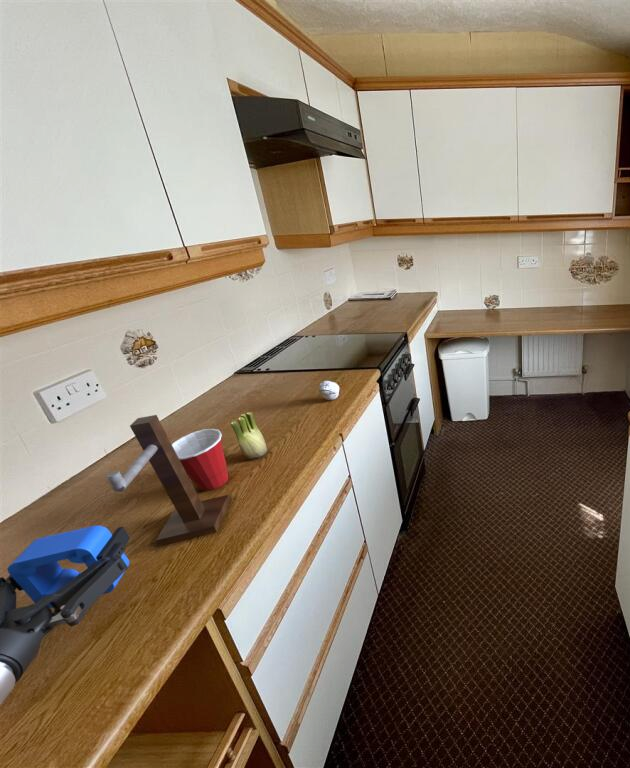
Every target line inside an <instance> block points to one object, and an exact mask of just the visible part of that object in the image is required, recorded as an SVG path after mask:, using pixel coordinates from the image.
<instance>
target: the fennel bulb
mask: <svg viewBox="0 0 630 768" xmlns="http://www.w3.org/2000/svg"><path fill="white" fill-rule="evenodd" d="M237 421H238V422H237ZM237 421H231V423H230V425H231V428H232V429H233V431H234V435H235V436H236V439H237V442H238V445H239V448H240V451H241V452H242V454H243V456H244V457H245V458H246V459H247V460H254V459H258V458H261V457H263V456H264V455H266V453H267V452H268V448H267V447H268V446H267V443H266V440H265V438H264V436H263V434H262V432H261V431H260V429H259V427H258V426H257V424H256V421H255V418H254V414H253V412H252V411H249V412H246V413H241V414H240V417H238V419H237Z"/></svg>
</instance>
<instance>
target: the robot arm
mask: <svg viewBox="0 0 630 768" xmlns="http://www.w3.org/2000/svg"><path fill="white" fill-rule="evenodd" d="M130 540H131V536H130V535H129V534H128V532H127V531H126V528H125V526H119V527H117V528H116V529H115V531H114V532H113V533H112V536H111V538H110V539H109V540H108V542H107V543H106V544H105V546H104V547H103V548H102V550H101V551H100V553H99V554H98V555H97V557H96V558H97V559H98V561H97V562H95V563H94V564H93V565H91V566H90V567H89V568H88V567H87V568H86V569H84V570H83V571H81V572H82V573H81V572H80V573H81V574H79V575H78V576H77V577H75V578H74V579H73V580H71V581H70V582H69V583H67V584H66V585H65V586H63V587H62V588H61V589H59V590H58V591H57V592H55V593H53V594H48V595H46V596H45V597H43V598H42V599H41V600H39V601H38V602H37V603H33V604H29V605H27V606H22V607H17V591H16V590H18V591H19V592H20V591H24V590H23V589H22V588H21V587H20V585H19V584H18V583H17V582H16V581H15V580H14V579H13V577H12V576H11V575H10V574H8V576H7V577H6V578H5V577H3V576H1V577H0V706H1V705H3V703H4V701H5V700H6V698H7V697H8V696H9V694H10V693H11V691H12V690H13V688H15V685H16V684H17V682H18V681H19V680H21V678H22V677H23V675H24V674H25V672H26V671H27V669H28V668H29V667H30V665H32V663H33V661H34V660H35V659H36V657H37V655H38V653H39V649H40V646H41V643H42V640H43V639H44V637H45V636H46V635H48V634H49V633H50V632H51V631H53V630H54V628H55V627H58V626H61V625H64V624H67V625H68V626H69V627H75V626H77V625H78V624H79V623H80V622H81V621H82V620H83V618H84V616H85V614H86V613H87V612H88V610H89V609H90V608H91V607H92V606H93V604H95V603H96V601H98V600H99V598H101V596H102V595H104V594H103V593H104V592H105V591H106V590H107V589H108V588H109V587H110V586H111V585H112V584H113V583H114V582H115V581H116V580H117V579H118V578H119V577H120V576H121V575H122V574H123V573H124V574H125V573H126V571H127V570H128V568H129V566H128V567H127V565H126V563H125V562H124V561H123V559H122V558H121V556H122V554H123V553H124V554H125V552H126V546H127V545H128V543H129V541H130ZM125 570H126V571H125ZM124 574H123V575H124ZM123 575H122V576H123ZM49 603H50V604H51V605H52V606H53V608H49V607H48V606H47V604H49ZM52 609H54V610H53V611H52Z"/></svg>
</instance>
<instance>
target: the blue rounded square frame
mask: <svg viewBox="0 0 630 768" xmlns="http://www.w3.org/2000/svg"><path fill="white" fill-rule="evenodd" d="M112 535H113V533H112V532H111V531H110V530H109V529H108V528H107V527H105V526H103V525H92V526H87V527H83V528H78V529H74V530H70V531H65V532H60V533H55V534H52V535H47V536H44V537H39V538H36V539H33V541H32V542H30V543H29V544H28V545H27V547H26V548H25V549H24V550H23V551H22V552H20V554H19V555H18V556H17V557H16V558H15V559H14V560H13V561H12V563H10V564H9V565H8V567H7V573H8V575H11V576H12V577H13V579H14V580H15V581H16V582H17V583H18V584H19V585H20V587H21V588H22V589H23V590H22V591H24V592H25V594H26V595H27V596H28V597H29V599H31V601H32V602H33V604H35V603H37V602H38V601H39V600H41V599H42V598H43V597H45V596H46V595H48V594H53V593H55V592H57V591H58V590H59V589H61V588H62V587H63V586H65V585H66V584H67V583H69V582H70V581H71V580H73V579H74V578H75V577H77V576H78V575H79V574H81V573H82V572H83V571H81V572H79V571H78V570H76V569H72V568H63V567H62V566H61V565H60V563H59V562H60V561H64V560H68V561H69V562H70V563H73V564H84V565H85V566H86V567H87V568H89V567H90V566H91V565H93V564H94V563H95V562H97V561H98V559H97V558H96V557H97V555H98V554H99V553H100V551H101V550H102V548H103V547H104V546H105V544H106V543H107V542H108V540H109V539H110V538H111V536H112ZM121 558H122V559H123V561H124V562H125V563H126V565H127V567H128V568H129V566H130V560H129V558H128V557H127V555H126V553H125V552H124V553H123V554H122V556H121ZM126 571H127V569H126V570H125V572H126ZM125 572H124V573H123V574H122V575H121V576H120V577H119V578H118V579H117V580H116V581H115V582H114V583H113V584H112V585H111V586H110V587H109V588H108V589H107V590H106V591H105V592H104V593H103V594H102V595H105V594H109V593H111V592H113V591H114V590H115V588H116V587H117V585H118V583H119V582H120V580H121V579H122V577H123V575H124V574H125ZM47 606H48V607H49V608H50V609H54V608H53V606H52V605H51V604H50V603H49V604H47Z"/></svg>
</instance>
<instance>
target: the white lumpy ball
mask: <svg viewBox="0 0 630 768" xmlns="http://www.w3.org/2000/svg"><path fill="white" fill-rule="evenodd" d="M318 393H319V395H321V396H322V397H323V398H324V399H325V400H327V401H333V400H336V399H337V398H338V397H339V394H340V386H339V385H338V383H337V382H335V381H331V380H324V381H322V382H320V383H319V387H318Z"/></svg>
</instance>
